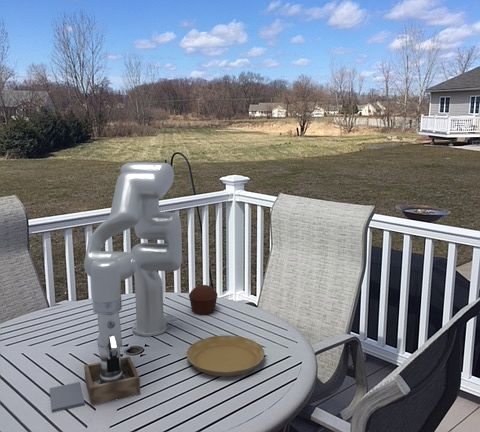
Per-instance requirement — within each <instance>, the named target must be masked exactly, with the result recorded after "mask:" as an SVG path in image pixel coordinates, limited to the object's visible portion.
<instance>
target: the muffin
mask: <svg viewBox="0 0 480 432" xmlns="http://www.w3.org/2000/svg"><path fill="white" fill-rule="evenodd" d="M218 296H219V295H218V292H217V291H216V290H215V289H214V288H213V287H212V286H210V285H207V284H200V285H196V286H195V287H194V288H193V289H192V290H191V291H190V293H189V294H188V297H189V303H190V307H191V312H192V313H193V314H194V315H198V316H208V315H210V314H212V315H213V314H214V313H215V311H216V306H217V298H218Z"/></svg>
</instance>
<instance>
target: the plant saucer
mask: <svg viewBox="0 0 480 432" xmlns="http://www.w3.org/2000/svg"><path fill="white" fill-rule="evenodd" d="M264 357H265V350H264V347H263V346H262V345H261V344H260V343H258V342H257V341H255V340H254V339H251V338H248V337H243V336H239V335H231V334H230V335H227V334H226V335H225V334H223V335H213V336H207V337H205V338H201V339H200V340H196V341H195V342H193V343H192V344H191V345H190V346H189V347H188V348H187V351H186V358H187V360H188V362H189V363H190V364H191V366H192V367H194V368H195V369H196V370H198V371H200V372H201V373H204V374H205V375H206V374H207V375H210V376H213V377H225V378H227V377H235V376H241V375H244V374H247V373H248V372H251V371H252V370H254V369H255V368H257V367H258V366H259V365H260V364H261V362H262V361H263V359H264Z"/></svg>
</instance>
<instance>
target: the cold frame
mask: <svg viewBox="0 0 480 432" xmlns="http://www.w3.org/2000/svg"><path fill="white" fill-rule="evenodd" d="M120 362H121V368H122V372H123V376H126V375H127V376H128V377H127V378H124V379H122V380H117V381H113V382H108V383H103V384H100V383H98V384H93V382H97V381H100V373H101V361H100V362H99V361H98V362H95V363H90V364H85V365H83V369H84V379H85V380H84V381H85V382H84V383H85V385H86V390H87V395H88V399H89V402H90V403H89V404H90V406H96V405H100V404H104V403H108V401H109V402H114V401H117V400H116V399H118V400H122V399H126V397H127V398H130V396H131V397H135V395H136V396H139V395H141V382H140V381H141V379H140V376H139V373H138V371H137V369H136V367H135V365H134V362H133V360H132V358H131V356H125V357H120ZM113 400H114V401H113Z"/></svg>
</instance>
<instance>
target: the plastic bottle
mask: <svg viewBox="0 0 480 432" xmlns="http://www.w3.org/2000/svg"><path fill="white" fill-rule="evenodd" d="M96 343H97V348H98V352H99V358H100V362H101V373H100V380H99V384H103V383H108V382H113V381H117V380H122V379H125V378H124V376H125V375H123V372H122V368H121V362H120V358H121V347H118V346H117V348H118V355H119V365H120V370H119V371H115V372H110V373H108V372H107V359H106V358H108V357H107V350H105V349H104V348H103V344H102V340H101V336H100V334H99V333H98V336H97V339H96ZM108 347H111V345H108ZM110 352H111V350H109V353H110Z"/></svg>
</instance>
